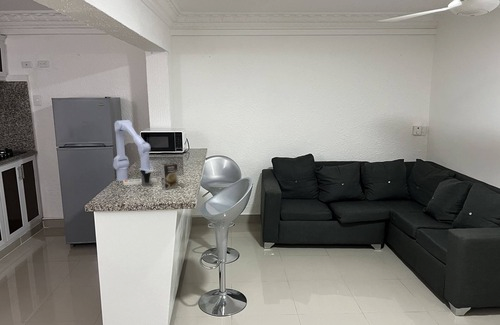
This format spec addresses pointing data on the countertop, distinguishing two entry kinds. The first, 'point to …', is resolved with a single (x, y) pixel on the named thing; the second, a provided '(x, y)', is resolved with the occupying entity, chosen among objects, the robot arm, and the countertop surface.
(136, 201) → the countertop surface
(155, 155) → the countertop surface
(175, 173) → the coffee box
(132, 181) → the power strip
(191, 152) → the countertop surface
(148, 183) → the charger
